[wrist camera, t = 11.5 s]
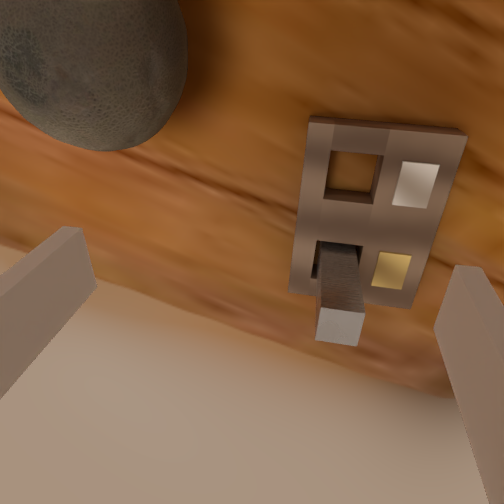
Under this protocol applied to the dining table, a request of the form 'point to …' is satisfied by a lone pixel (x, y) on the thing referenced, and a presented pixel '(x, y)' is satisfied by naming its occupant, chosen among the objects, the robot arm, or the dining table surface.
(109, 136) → the dark grey round ball
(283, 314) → the dining table surface
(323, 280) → the plug
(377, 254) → the socket board
